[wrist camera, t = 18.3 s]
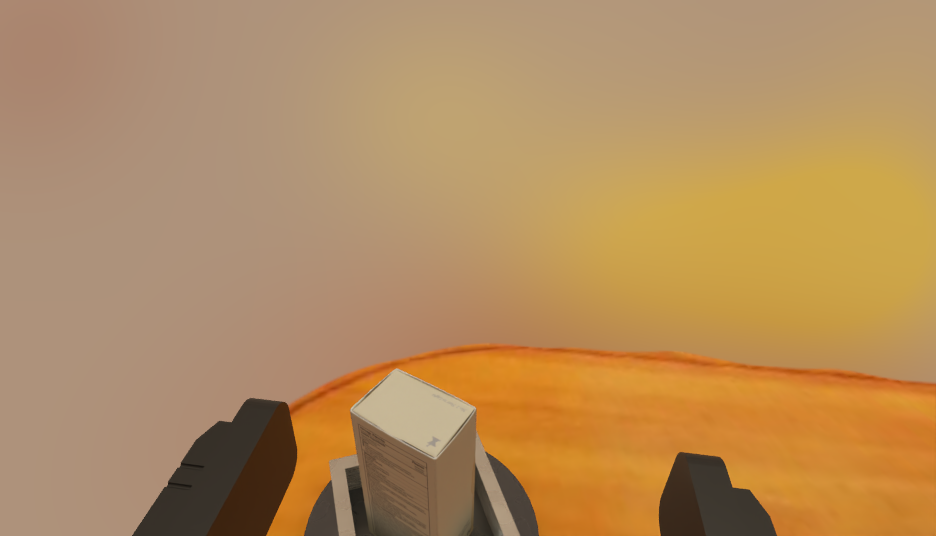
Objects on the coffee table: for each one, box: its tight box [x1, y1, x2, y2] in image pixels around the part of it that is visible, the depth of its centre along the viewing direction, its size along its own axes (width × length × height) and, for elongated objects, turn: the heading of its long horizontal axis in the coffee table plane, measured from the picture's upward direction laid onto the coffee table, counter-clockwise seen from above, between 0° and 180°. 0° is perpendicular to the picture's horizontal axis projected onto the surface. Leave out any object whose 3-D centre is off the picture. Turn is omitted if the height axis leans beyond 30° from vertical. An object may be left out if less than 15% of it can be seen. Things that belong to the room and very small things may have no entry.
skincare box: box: [350, 369, 476, 536], centre depth 34 cm, size 6×4×12 cm
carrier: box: [304, 431, 539, 536], centre depth 38 cm, size 16×16×4 cm
